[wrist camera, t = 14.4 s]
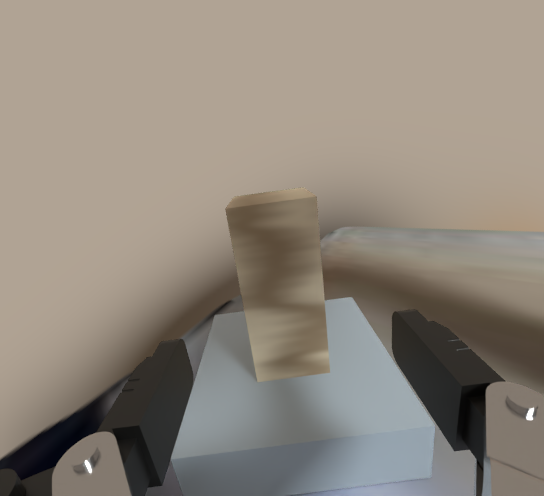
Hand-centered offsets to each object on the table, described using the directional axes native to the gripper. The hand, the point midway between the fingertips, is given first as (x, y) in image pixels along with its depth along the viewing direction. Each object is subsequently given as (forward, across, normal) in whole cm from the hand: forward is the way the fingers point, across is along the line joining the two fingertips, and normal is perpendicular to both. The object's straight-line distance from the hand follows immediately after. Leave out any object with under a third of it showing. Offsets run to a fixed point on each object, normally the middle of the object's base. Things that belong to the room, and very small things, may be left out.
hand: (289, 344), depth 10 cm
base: (+9, 0, +12) cm, 14 cm away
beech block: (+9, 0, +8) cm, 11 cm away
